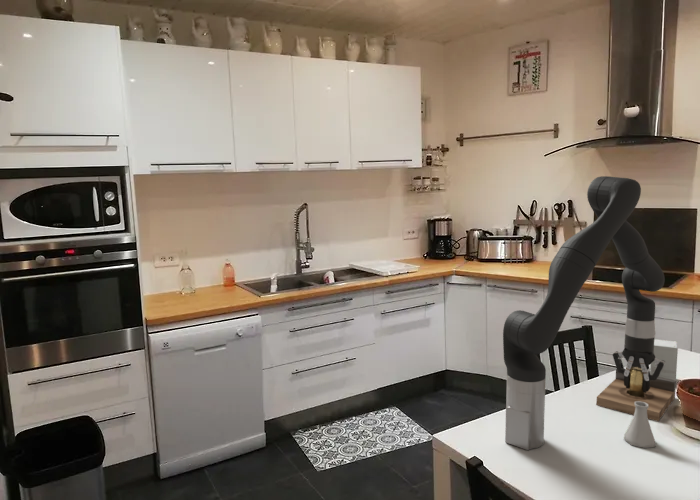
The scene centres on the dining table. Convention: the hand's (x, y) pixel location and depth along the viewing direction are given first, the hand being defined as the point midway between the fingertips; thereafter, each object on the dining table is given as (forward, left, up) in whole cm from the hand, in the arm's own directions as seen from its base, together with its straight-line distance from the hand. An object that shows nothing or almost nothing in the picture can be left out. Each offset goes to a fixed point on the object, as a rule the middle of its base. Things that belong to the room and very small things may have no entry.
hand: (636, 389), depth 151 cm
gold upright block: (0, 0, -2) cm, 2 cm away
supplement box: (+23, -2, -4) cm, 24 cm away
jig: (0, 0, -4) cm, 4 cm away
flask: (-25, -7, -4) cm, 26 cm away
